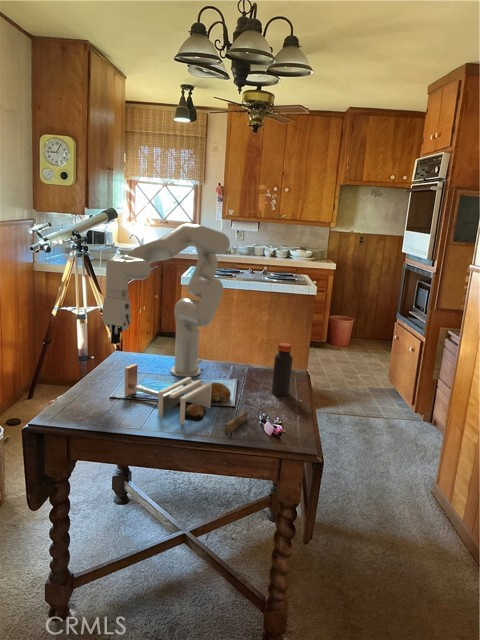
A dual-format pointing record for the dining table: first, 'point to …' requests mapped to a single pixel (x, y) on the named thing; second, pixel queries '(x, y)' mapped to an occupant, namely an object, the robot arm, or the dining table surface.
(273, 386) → the bottle
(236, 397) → the dining table surface
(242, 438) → the dining table surface
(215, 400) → the bread roll
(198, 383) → the white slatted rack
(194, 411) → the bread roll
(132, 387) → the rod with wooden block
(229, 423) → the bar
